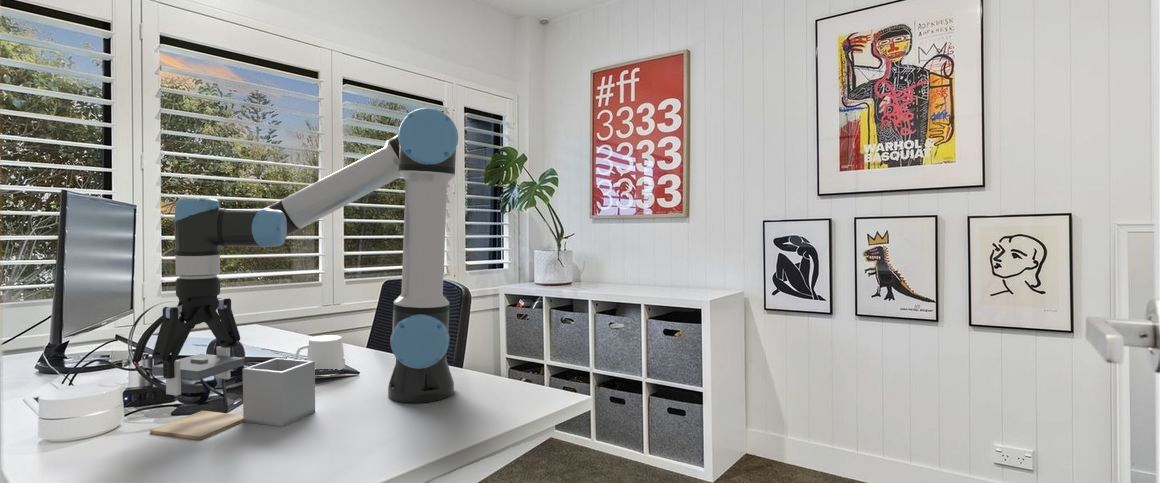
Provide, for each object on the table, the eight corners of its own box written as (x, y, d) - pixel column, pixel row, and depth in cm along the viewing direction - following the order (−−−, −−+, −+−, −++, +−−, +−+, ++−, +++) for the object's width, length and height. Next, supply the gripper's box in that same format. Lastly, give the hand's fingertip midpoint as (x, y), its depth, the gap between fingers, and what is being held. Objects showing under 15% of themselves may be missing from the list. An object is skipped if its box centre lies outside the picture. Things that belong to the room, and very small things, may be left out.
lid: (243, 369, 127) (243, 355, 127) (198, 383, 116) (198, 368, 116) (200, 364, 130) (200, 350, 130) (152, 378, 119) (151, 363, 119)
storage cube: (315, 411, 133) (314, 361, 132) (283, 426, 124) (282, 372, 123) (277, 407, 135) (277, 357, 135) (243, 421, 126) (242, 368, 126)
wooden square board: (249, 418, 128) (249, 416, 128) (200, 439, 116) (200, 436, 116) (202, 413, 131) (202, 410, 131) (150, 433, 120) (150, 430, 119)
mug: (344, 333, 168) (344, 340, 161) (345, 367, 169) (345, 375, 162) (296, 336, 164) (294, 343, 157) (297, 371, 165) (294, 379, 157)
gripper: (230, 270, 134) (231, 369, 136) (126, 282, 112) (128, 401, 113) (259, 271, 132) (259, 372, 134) (158, 284, 110) (161, 405, 111)
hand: (199, 385), depth 123 cm, fingers closed on lid, 11 cm apart
